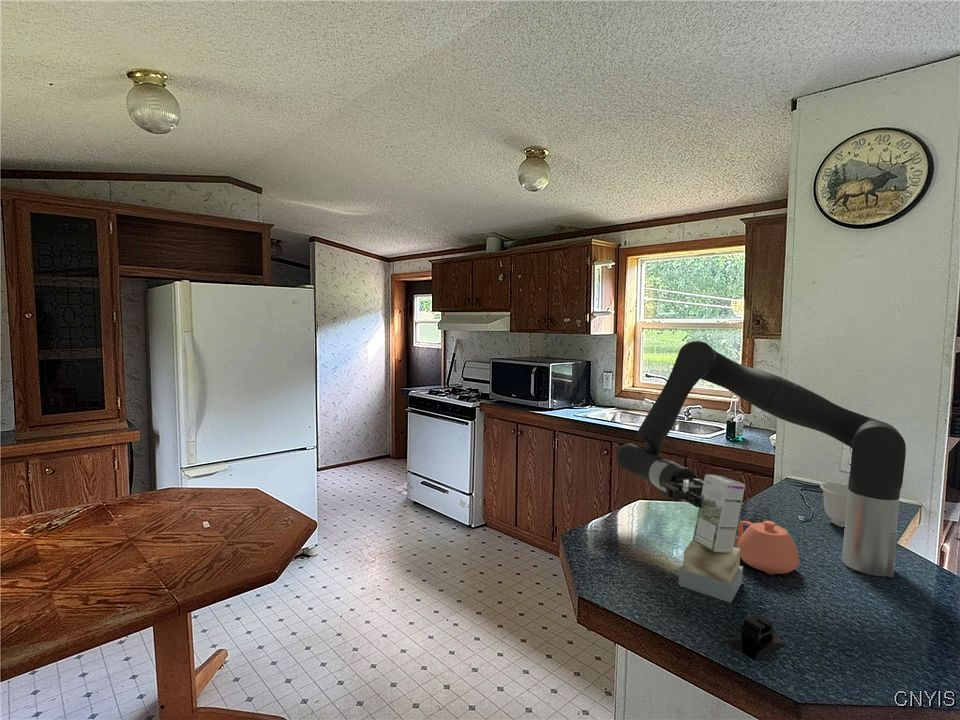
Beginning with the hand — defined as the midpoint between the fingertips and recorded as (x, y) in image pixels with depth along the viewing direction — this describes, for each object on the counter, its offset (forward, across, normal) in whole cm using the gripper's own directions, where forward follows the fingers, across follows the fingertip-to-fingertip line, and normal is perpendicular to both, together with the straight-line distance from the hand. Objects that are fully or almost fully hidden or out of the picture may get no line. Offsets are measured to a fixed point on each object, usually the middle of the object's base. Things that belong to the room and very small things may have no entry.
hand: (717, 501), depth 107 cm
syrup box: (+2, -2, +9) cm, 10 cm away
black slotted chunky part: (+20, -7, +18) cm, 28 cm away
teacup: (-21, +58, +17) cm, 64 cm away
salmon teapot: (-4, +16, +17) cm, 24 cm away
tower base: (+2, -2, +17) cm, 18 cm away
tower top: (+2, -2, +13) cm, 14 cm away
